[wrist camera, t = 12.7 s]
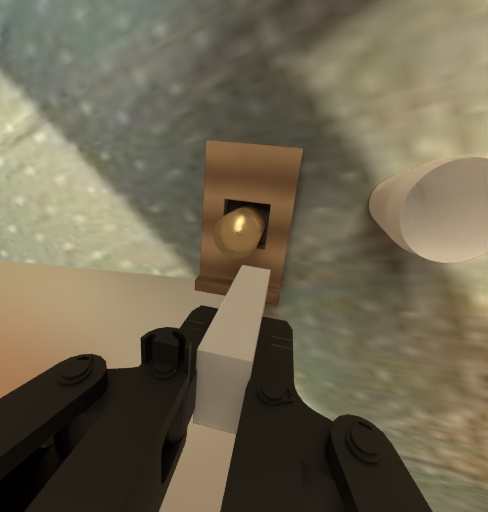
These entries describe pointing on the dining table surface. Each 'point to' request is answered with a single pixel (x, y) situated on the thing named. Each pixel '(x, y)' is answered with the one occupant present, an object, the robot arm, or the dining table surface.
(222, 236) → the golden brass cylinder
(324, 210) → the dining table surface
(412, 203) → the cup
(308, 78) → the dining table surface
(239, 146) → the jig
